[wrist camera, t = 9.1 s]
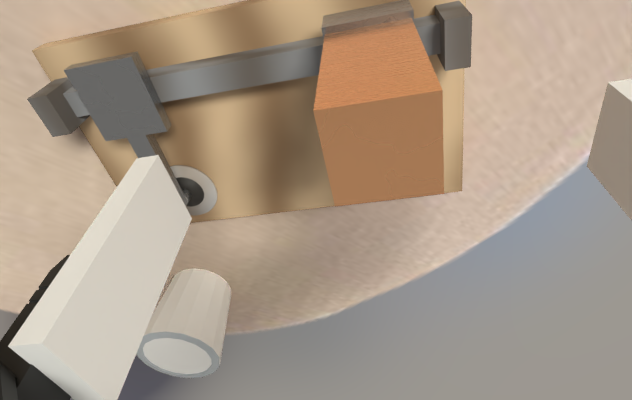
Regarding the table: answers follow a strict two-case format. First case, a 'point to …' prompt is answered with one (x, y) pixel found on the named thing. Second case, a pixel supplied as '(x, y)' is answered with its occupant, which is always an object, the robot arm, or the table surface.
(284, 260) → the table surface
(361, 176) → the block
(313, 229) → the table surface
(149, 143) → the fixed leg
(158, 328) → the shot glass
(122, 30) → the bolt plate
